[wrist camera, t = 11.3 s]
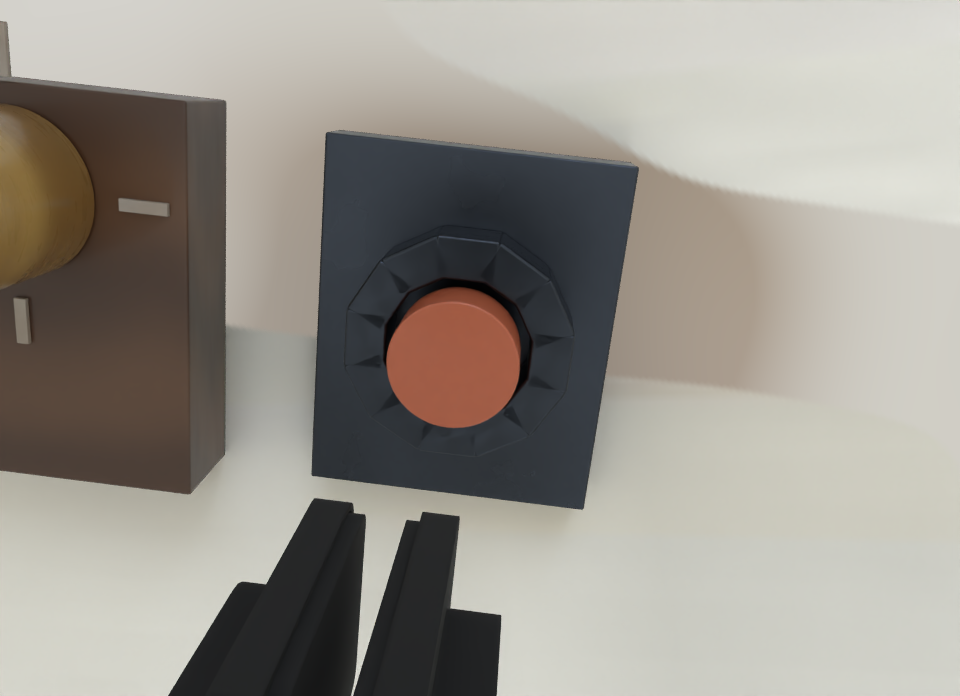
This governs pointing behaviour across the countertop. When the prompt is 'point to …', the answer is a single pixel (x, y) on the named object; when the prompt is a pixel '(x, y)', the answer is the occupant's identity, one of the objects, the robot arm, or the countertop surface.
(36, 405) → the panel
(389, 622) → the robot arm
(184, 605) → the countertop surface
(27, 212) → the knob
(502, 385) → the button
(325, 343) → the button block
